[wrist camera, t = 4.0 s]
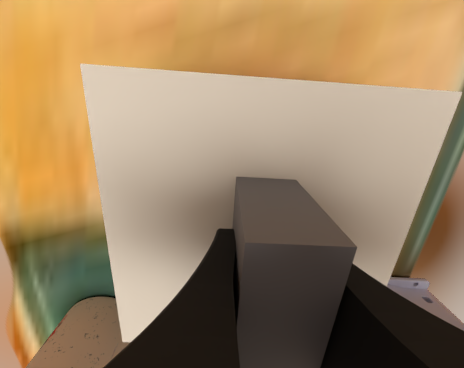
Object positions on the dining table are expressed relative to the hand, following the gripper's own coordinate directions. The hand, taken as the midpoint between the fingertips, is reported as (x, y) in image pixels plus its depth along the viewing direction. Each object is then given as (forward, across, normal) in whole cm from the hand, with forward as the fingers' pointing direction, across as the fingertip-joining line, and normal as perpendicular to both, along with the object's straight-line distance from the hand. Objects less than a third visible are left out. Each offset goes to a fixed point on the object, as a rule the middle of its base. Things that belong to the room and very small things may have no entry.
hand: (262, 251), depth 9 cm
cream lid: (+2, 0, 0) cm, 2 cm away
